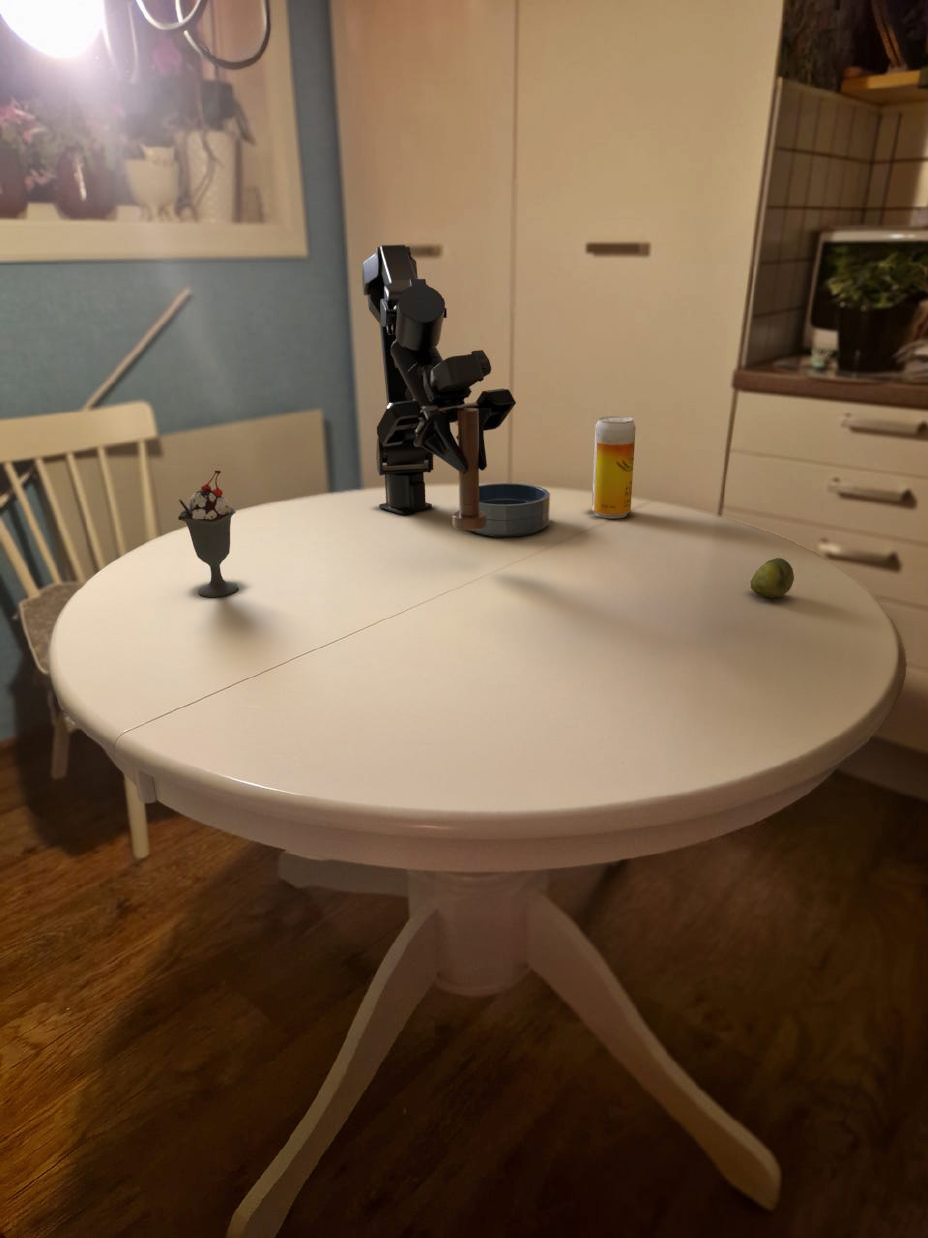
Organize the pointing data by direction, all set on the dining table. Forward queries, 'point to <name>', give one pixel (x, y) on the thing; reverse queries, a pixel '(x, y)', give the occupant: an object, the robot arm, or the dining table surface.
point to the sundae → (210, 534)
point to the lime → (773, 578)
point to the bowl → (513, 509)
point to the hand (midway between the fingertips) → (475, 470)
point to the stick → (469, 472)
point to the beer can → (613, 466)
